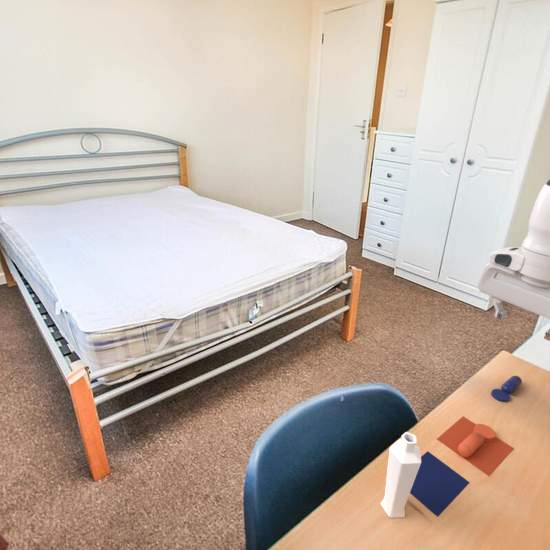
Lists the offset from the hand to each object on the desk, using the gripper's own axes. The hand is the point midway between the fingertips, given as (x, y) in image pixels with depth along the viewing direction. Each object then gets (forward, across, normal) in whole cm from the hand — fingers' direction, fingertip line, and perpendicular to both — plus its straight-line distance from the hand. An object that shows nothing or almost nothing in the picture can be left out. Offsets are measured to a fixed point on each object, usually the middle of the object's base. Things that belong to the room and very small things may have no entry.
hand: (523, 328), depth 76 cm
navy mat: (+19, -4, +30) cm, 35 cm away
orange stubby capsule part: (+18, -4, +16) cm, 24 cm away
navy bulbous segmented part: (+19, +1, -5) cm, 20 cm away
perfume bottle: (+19, -3, +39) cm, 43 cm away
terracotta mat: (+19, -4, +16) cm, 25 cm away
